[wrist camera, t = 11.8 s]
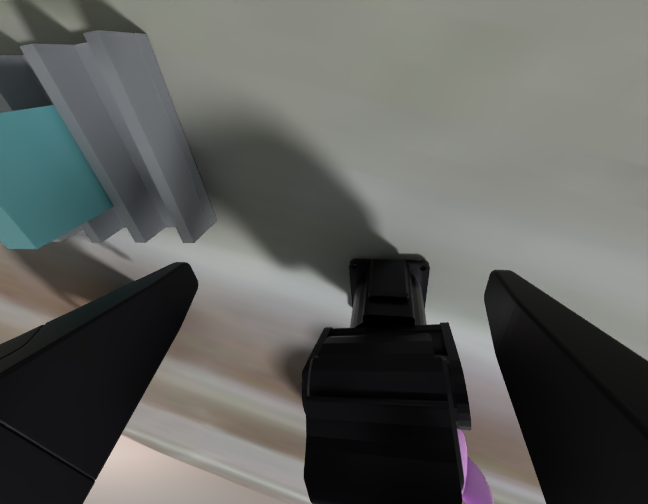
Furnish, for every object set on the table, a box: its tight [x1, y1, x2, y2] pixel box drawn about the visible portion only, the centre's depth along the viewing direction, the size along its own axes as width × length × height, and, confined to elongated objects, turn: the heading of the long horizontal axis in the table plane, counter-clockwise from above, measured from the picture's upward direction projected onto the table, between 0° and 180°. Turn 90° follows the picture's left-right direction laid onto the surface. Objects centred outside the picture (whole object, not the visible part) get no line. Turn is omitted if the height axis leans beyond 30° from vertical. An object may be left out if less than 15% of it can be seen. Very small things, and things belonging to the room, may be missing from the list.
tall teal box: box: [0, 105, 114, 249], centre depth 18 cm, size 7×2×8 cm, turn 7°
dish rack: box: [0, 30, 217, 243], centre depth 21 cm, size 13×15×4 cm
